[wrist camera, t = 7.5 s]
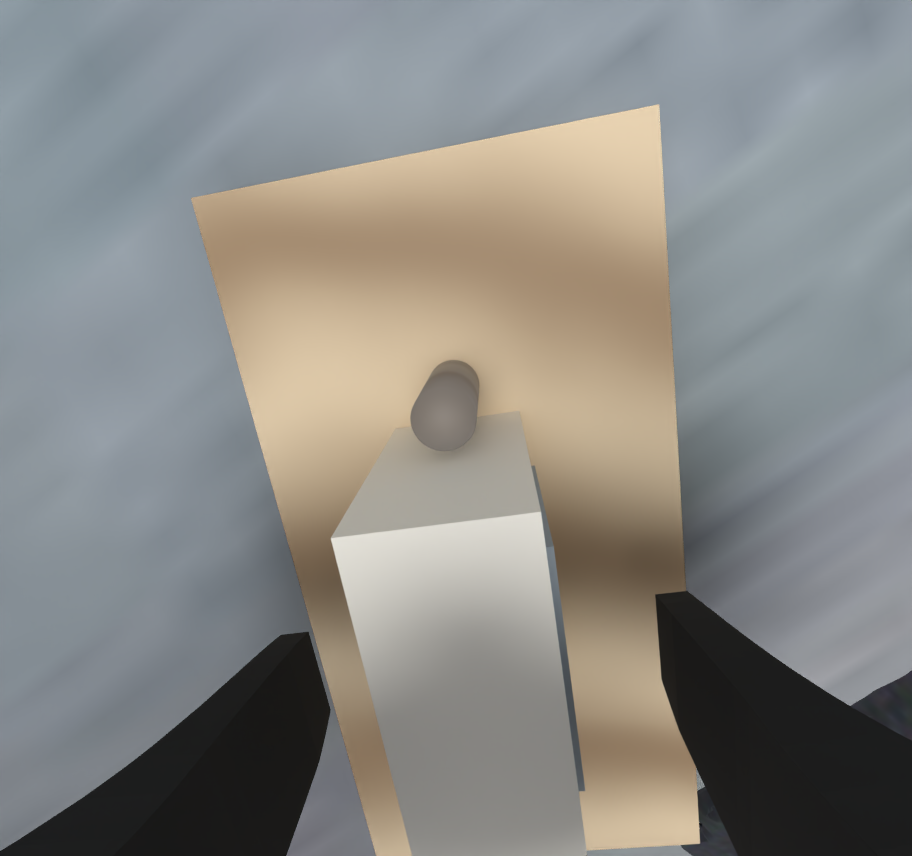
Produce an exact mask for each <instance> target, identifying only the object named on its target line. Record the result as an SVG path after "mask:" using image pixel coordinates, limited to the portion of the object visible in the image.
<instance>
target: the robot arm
mask: <svg viewBox="0 0 912 856" xmlns="http://www.w3.org/2000/svg"><path fill="white" fill-rule="evenodd" d="M655 599H656V612H657V626H658V639H659V652H660V666H661V679H662V682H663V685H664V688H665V691H666V694H667V697H668V700H669V703H670V706H671V709H672V712H673V715H674V718H675V720H676V723H677V726H678V729H679V732H680V734H681V736H682V738H683V740H684V742H685V745H686V747H687V749H688V751H689V753H690V755H691V757H692V760H693V762H694V764H695V766H696V768H697V770H698V772H699V774H700V777H701V779H702V781H703V783H704V785H705V787H706V789H707V791H708V793H709V796H710V798H711V800H712V802H713V804H714V806H715V808H716V810H717V812H718V814H719V817H720V819H721V821H722V823H723V825H724V827H725V829H726V831H727V833H728V836H729V838H730V840H731V842H732V844H733V846H734V848H735V850H736V852H737V855H738V856H912V740H910V739H908V738H906V737H904V736H902V735H900V734H898V733H897V732H895V731H893V730H891V729H889V728H888V727H886V726H884V725H882V724H881V723H879V722H877V721H875V720H873V719H872V718H870V717H868V716H866V715H865V714H863V713H861V712H859V711H858V710H856V709H854V708H852V707H851V706H849V705H847V704H846V703H844V702H842V701H841V700H839V699H837V698H836V697H834V696H832V695H831V694H829V693H827V692H826V691H824V690H823V689H821V688H820V687H818V686H817V685H815V684H814V683H812V682H811V681H809V680H807V679H806V678H804V677H803V676H801V675H800V674H798V673H797V672H795V671H794V670H792V669H791V668H789V667H788V666H786V665H785V664H783V663H782V662H780V661H779V660H778V659H776V658H775V657H773V656H772V655H770V654H769V653H768V652H766V651H765V650H764V649H762V648H761V647H759V646H758V645H757V644H755V643H754V642H752V641H751V640H750V639H748V638H747V637H746V636H744V635H743V634H742V633H740V632H739V631H738V630H737V629H735V628H734V627H733V626H731V625H730V624H729V623H727V622H726V621H725V620H724V619H722V618H721V617H720V616H718V615H717V614H716V613H715V612H713V611H712V610H711V609H710V608H708V607H707V606H706V605H704V604H703V603H702V602H701V601H699V600H698V599H697V598H695V597H694V596H693V595H691V594H690V593H689V592H688V591H682V592H672V593H663V594H655ZM329 715H330V706H329V703H328V699H327V696H326V692H325V689H324V685H323V682H322V678H321V675H320V671H319V668H318V664H317V661H316V657H315V653H314V650H313V646H312V643H311V639H310V636H309V632H303V633H294V634H285V635H281V636H279V637H278V638H277V639H275V640H274V641H273V642H272V643H270V644H269V645H268V646H267V647H266V648H265V649H264V650H262V651H261V652H260V653H259V654H258V655H257V656H256V657H254V658H253V659H252V660H251V661H250V662H249V663H248V664H247V665H246V666H244V667H243V668H242V669H241V670H240V671H239V672H238V673H237V674H236V675H235V676H233V677H232V678H231V679H230V680H229V681H228V682H227V683H226V684H224V685H223V686H222V687H221V688H220V689H219V690H218V691H217V692H216V693H214V694H213V695H212V696H211V697H210V698H209V699H208V700H207V701H205V702H204V703H203V704H202V705H201V706H200V707H199V708H197V709H196V710H195V711H194V712H193V713H191V714H190V715H189V716H188V717H187V718H185V719H184V720H183V721H182V722H181V723H179V724H178V725H177V726H176V727H175V728H174V729H172V730H171V731H170V732H169V733H168V734H166V735H165V736H164V737H163V738H162V739H160V740H159V741H158V742H157V743H156V744H154V745H153V746H152V747H151V748H149V749H148V750H147V751H146V752H144V753H143V754H142V755H141V756H139V757H138V758H137V759H135V760H134V761H133V762H131V763H130V764H129V765H127V766H126V767H125V768H123V769H122V770H121V771H119V772H118V773H117V774H115V775H114V776H113V777H111V778H110V779H108V780H107V781H106V782H104V783H103V784H102V785H100V786H99V787H97V788H96V789H95V790H93V791H92V792H90V793H89V794H88V795H86V796H85V797H83V798H82V799H80V800H79V801H77V802H76V803H74V804H73V805H71V806H70V807H68V808H67V809H65V810H64V811H62V812H61V813H59V814H57V815H56V816H54V817H53V818H51V819H50V820H48V821H47V822H45V823H44V824H42V825H41V826H39V827H38V828H36V829H35V830H33V831H31V832H30V833H28V834H27V835H25V836H24V837H22V838H21V839H19V840H18V841H16V842H14V843H13V844H11V845H10V846H8V847H6V848H5V849H3V850H1V851H0V856H286V855H287V852H288V849H289V846H290V843H291V841H292V838H293V835H294V832H295V829H296V827H297V824H298V821H299V818H300V815H301V813H302V810H303V807H304V804H305V801H306V798H307V795H308V793H309V790H310V787H311V784H312V781H313V778H314V775H315V772H316V769H317V766H318V763H319V760H320V756H321V752H322V748H323V743H324V739H325V735H326V730H327V725H328V720H329Z"/></svg>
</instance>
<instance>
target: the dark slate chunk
mask: <svg viewBox="0 0 912 856" xmlns="http://www.w3.org/2000/svg"><path fill="white" fill-rule="evenodd" d="M851 707H852V708H854V709H856V710H858V711H859V712H861V713H863V714H865V715H866V716H868V717H870V718H872V719H873V720H875V721H877V722H879V723H881V724H882V725H884V726H886V727H888V728H889V729H891V730H893V731H895V732H897V733H898V734H900V735H902V736H904V737H906V738H908V739H910V740H912V671H910V672H909V673H908V674H906V675H905V676H903V677H901V678H900V679H898V680H896V681H894V682H892V683H890V684H887V685H885V686H883V687H881V688H879V689H877V690H875V691H873V692H872V693H871V694H869V695H868V696H866V697H865V698H863V699H861V700H860V701H858V702H856V703H855V704H853V705H851ZM697 797H698V815H699V821H700V822H701V824H699V827H700V829H699V833H700V844H687V845H681V846H682V848H683V849H684V850H686V851H687V852H688V853H690V854H691V855H692V856H738V855H737V852H736V850H735V848H734V846H733V844H732V842H731V840H730V838H729V836H728V833H727V831H726V829H725V827H724V825H723V823H722V821H721V819H720V817H719V814H718V812H717V810H716V808H715V806H714V804H713V802H712V800H711V798H710V796H709V793H708V791H707V789H706V787H704V788H702V789H700V790H698V791H697Z"/></svg>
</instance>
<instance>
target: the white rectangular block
mask: <svg viewBox="0 0 912 856" xmlns="http://www.w3.org/2000/svg"><path fill="white" fill-rule="evenodd" d="M331 542H332V546H333V549H334V553H335V557H336V561H337V565H338V569H339V573H340V577H341V581H342V585H343V588H344V592H345V596H346V600H347V604H348V608H349V612H350V616H351V620H352V623H353V627H354V631H355V635H356V639H357V643H358V647H359V651H360V655H361V659H362V662H363V666H364V670H365V674H366V678H367V682H368V686H369V690H370V694H371V697H372V701H373V705H374V709H375V713H376V717H377V721H378V725H379V729H380V733H381V736H382V740H383V744H384V748H385V752H386V756H387V760H388V764H389V768H390V771H391V775H392V779H393V783H394V787H395V791H396V795H397V799H398V803H399V807H400V810H401V814H402V818H403V822H404V826H405V830H406V834H407V838H408V842H409V846H410V849H411V853H412V856H587V849H586V842H585V835H584V827H583V820H582V812H581V805H580V797H579V791H585V783H584V776H583V768H582V760H581V753H580V745H579V737H578V729H577V722H576V714H575V706H574V699H573V691H572V683H571V676H570V668H569V660H568V653H567V645H566V637H565V630H564V622H563V614H562V606H561V599H560V591H559V583H558V576H557V568H556V560H555V553H554V546H553V541H552V537H551V533H550V529H549V524H548V520H547V516H546V511H545V507H544V503H543V499H542V494H541V490H540V486H539V482H538V477H537V473H536V469H535V466H531V463H530V458H529V454H528V449H527V444H526V440H525V435H524V430H523V426H522V421H521V416H520V412H519V411H513V412H506V413H500V414H493V415H486V416H479V417H477V422H476V428H475V431H474V433H473V435H472V437H471V438H470V439H469V441H468V442H467V443H466V444H464V445H463V446H461V447H460V448H457V449H455V450H451V451H437V450H434V449H431V448H429V447H427V446H425V445H424V444H423V443H421V442H420V441H419V440H418V438H417V437H416V436H415V434H414V432H413V430H412V427H411V426H410V427H404V428H397V429H395V431H394V432H393V434H392V436H391V437H390V439H389V441H388V442H387V444H386V446H385V447H384V449H383V451H382V452H381V454H380V456H379V458H378V459H377V461H376V463H375V464H374V466H373V468H372V469H371V471H370V473H369V474H368V476H367V478H366V479H365V481H364V483H363V484H362V486H361V488H360V490H359V491H358V493H357V495H356V496H355V498H354V500H353V501H352V503H351V505H350V506H349V508H348V510H347V511H346V513H345V515H344V517H343V518H342V520H341V522H340V523H339V525H338V527H337V528H336V530H335V532H334V533H333V535H332V537H331Z"/></svg>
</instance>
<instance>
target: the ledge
mask: <svg viewBox="0 0 912 856" xmlns="http://www.w3.org/2000/svg"><path fill="white" fill-rule="evenodd" d="M191 200H192V203H193V207H194V210H195V214H196V217H197V221H198V225H199V228H200V232H201V235H202V239H203V242H204V246H205V249H206V253H207V257H208V260H209V264H210V267H211V271H212V274H213V278H214V281H215V285H216V288H217V292H218V296H219V299H220V303H221V306H222V310H223V313H224V317H225V320H226V324H227V328H228V331H229V335H230V338H231V342H232V345H233V349H234V352H235V356H236V360H237V363H238V367H239V370H240V374H241V377H242V381H243V384H244V388H245V391H246V395H247V399H248V402H249V406H250V409H251V413H252V416H253V420H254V423H255V427H256V431H257V434H258V438H259V441H260V445H261V448H262V452H263V455H264V459H265V463H266V466H267V470H268V473H269V477H270V480H271V484H272V487H273V491H274V494H275V498H276V502H277V505H278V509H279V512H280V516H281V519H282V523H283V526H284V530H285V534H286V537H287V541H288V544H289V548H290V551H291V555H292V558H293V562H294V566H295V569H296V573H297V576H298V580H299V583H300V587H301V590H302V594H303V597H304V601H305V605H306V608H307V612H308V615H309V619H310V622H311V626H312V629H313V633H314V637H315V640H316V644H317V647H318V651H319V654H320V658H321V661H322V665H323V669H324V672H325V676H326V679H327V683H328V686H329V690H330V693H331V697H332V700H333V704H334V708H335V711H336V715H337V718H338V722H339V725H340V729H341V732H342V736H343V740H344V743H345V747H346V750H347V754H348V757H349V761H350V764H351V768H352V772H353V775H354V779H355V782H356V786H357V789H358V793H359V796H360V800H361V803H362V807H363V811H364V814H365V818H366V821H367V825H368V828H369V832H370V835H371V839H372V843H373V846H374V850H375V853H376V856H412V853H411V849H410V846H409V842H408V838H407V834H406V830H405V826H404V822H403V818H402V814H401V810H400V807H399V803H398V799H397V795H396V791H395V787H394V783H393V779H392V775H391V771H390V768H389V764H388V760H387V756H386V752H385V748H384V744H383V740H382V736H381V733H380V729H379V725H378V721H377V717H376V713H375V709H374V705H373V701H372V697H371V694H370V690H369V686H368V682H367V678H366V674H365V670H364V666H363V662H362V659H361V655H360V651H359V647H358V643H357V639H356V635H355V631H354V627H353V623H352V620H351V616H350V612H349V608H348V604H347V600H346V596H345V592H344V588H343V585H342V581H341V577H340V573H339V569H338V565H337V561H336V557H335V553H334V549H333V546H332V542H331V537H332V535H333V533H334V532H335V530H336V528H337V527H338V525H339V523H340V522H341V520H342V518H343V517H344V515H345V513H346V511H347V510H348V508H349V506H350V505H351V503H352V501H353V500H354V498H355V496H356V495H357V493H358V491H359V490H360V488H361V486H362V484H363V483H364V481H365V479H366V478H367V476H368V474H369V473H370V471H371V469H372V468H373V466H374V464H375V463H376V461H377V459H378V458H379V456H380V454H381V452H382V451H383V449H384V447H385V446H386V444H387V442H388V441H389V439H390V437H391V436H392V434H393V432H394V431H395V429H397V428H404V427H410V426H411V427H412V430H413V432H414V434H415V436H416V437H417V438H418V440H419V441H420V442H421V443H423V444H424V445H425V446H427V447H429V448H431V449H434V450H437V451H451V450H455V449H457V448H460V447H461V446H463V445H464V444H466V443H467V442H468V441H469V439H470V438H471V437H472V435H473V433H474V431H475V428H476V422H477V417H479V416H486V415H493V414H500V413H506V412H513V411H519V412H520V416H521V421H522V426H523V430H524V435H525V440H526V444H527V449H528V454H529V458H530V463H531V466H535V469H536V473H537V477H538V482H539V486H540V490H541V494H542V499H543V503H544V507H545V511H546V516H547V520H548V524H549V529H550V533H551V537H552V541H553V546H554V553H555V560H556V568H557V576H558V583H559V591H560V599H561V606H562V614H563V622H564V630H565V637H566V645H567V653H568V660H569V668H570V676H571V683H572V691H573V699H574V706H575V714H576V722H577V729H578V737H579V745H580V753H581V760H582V768H583V776H584V783H585V791H579V797H580V805H581V812H582V820H583V827H584V835H585V842H586V849H587V850H603V849H620V848H637V847H654V846H670V845H687V844H700V833H699V815H698V797H697V779H696V766H695V764H694V762H693V760H692V757H691V755H690V753H689V751H688V749H687V747H686V745H685V742H684V740H683V738H682V736H681V734H680V732H679V729H678V726H677V723H676V720H675V718H674V715H673V712H672V709H671V706H670V703H669V700H668V697H667V694H666V691H665V688H664V685H663V682H662V679H661V666H660V652H659V639H658V626H657V612H656V599H655V594H663V593H672V592H682V591H686V581H685V563H684V545H683V527H682V509H681V491H680V473H679V455H678V437H677V419H676V401H675V383H674V365H673V347H672V329H671V311H670V293H669V275H668V257H667V239H666V221H665V203H664V185H663V167H662V149H661V131H660V113H659V105H654V106H649V107H644V108H639V109H634V110H629V111H624V112H619V113H614V114H609V115H604V116H599V117H594V118H589V119H584V120H579V121H574V122H569V123H564V124H559V125H554V126H549V127H544V128H539V129H534V130H529V131H524V132H519V133H514V134H509V135H504V136H499V137H494V138H489V139H484V140H479V141H474V142H469V143H464V144H459V145H454V146H449V147H444V148H439V149H434V150H429V151H424V152H419V153H414V154H409V155H404V156H399V157H394V158H389V159H384V160H379V161H374V162H369V163H364V164H359V165H354V166H349V167H344V168H339V169H334V170H329V171H324V172H319V173H314V174H309V175H304V176H299V177H294V178H289V179H284V180H279V181H274V182H269V183H264V184H259V185H254V186H249V187H244V188H239V189H234V190H229V191H224V192H219V193H214V194H209V195H204V196H199V197H194V198H191Z"/></svg>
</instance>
